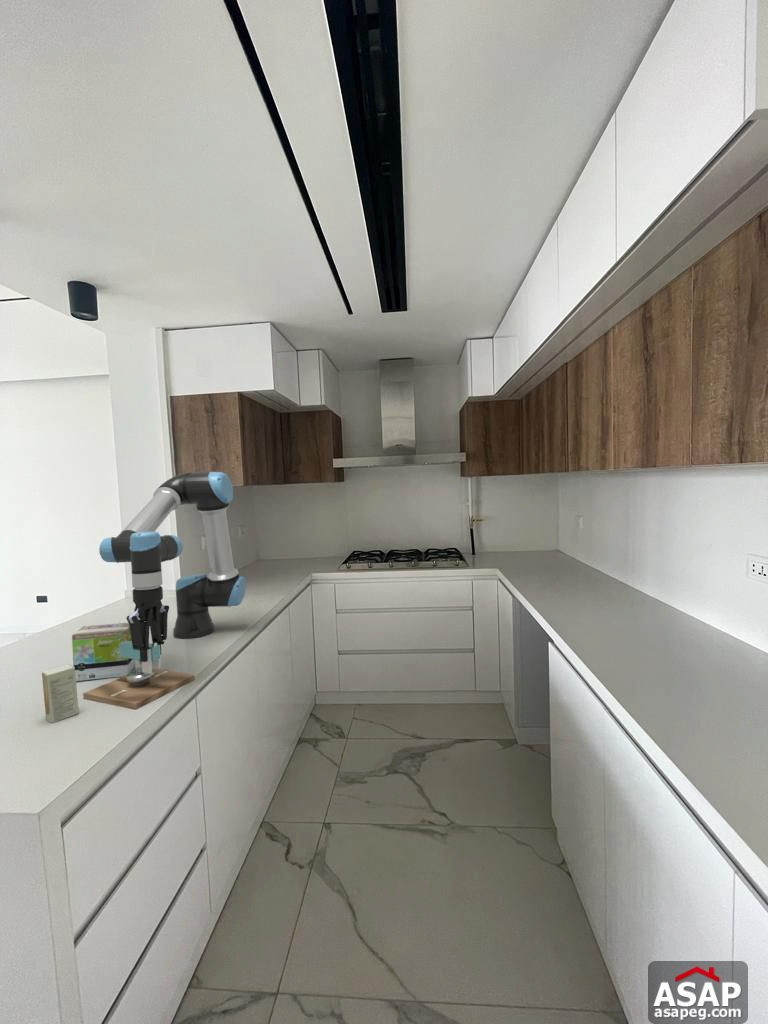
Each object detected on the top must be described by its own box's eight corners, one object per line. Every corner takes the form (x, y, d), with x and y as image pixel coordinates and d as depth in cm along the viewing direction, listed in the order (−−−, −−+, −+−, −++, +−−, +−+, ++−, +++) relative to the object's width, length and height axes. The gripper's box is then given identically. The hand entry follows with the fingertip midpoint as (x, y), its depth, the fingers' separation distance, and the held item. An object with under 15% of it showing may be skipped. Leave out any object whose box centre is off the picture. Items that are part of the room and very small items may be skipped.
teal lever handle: (134, 670, 138) (132, 635, 138) (167, 675, 134) (165, 639, 133) (113, 679, 132) (111, 642, 132) (147, 685, 127) (144, 647, 127)
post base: (145, 671, 146) (145, 662, 146) (194, 679, 138) (194, 669, 138) (83, 698, 128) (82, 687, 127) (135, 709, 120) (135, 698, 120)
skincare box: (73, 709, 121) (70, 663, 121) (79, 713, 118) (76, 666, 118) (43, 719, 116) (40, 670, 116) (49, 724, 113) (46, 674, 113)
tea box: (73, 683, 139) (70, 634, 138) (85, 671, 148) (82, 625, 148) (129, 676, 143) (126, 628, 142) (137, 665, 152) (134, 620, 152)
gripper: (157, 581, 139) (161, 659, 140) (113, 592, 124) (118, 679, 125) (178, 582, 137) (182, 661, 137) (135, 593, 122) (140, 682, 122)
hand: (151, 669), depth 131 cm, fingers open, 3 cm apart
